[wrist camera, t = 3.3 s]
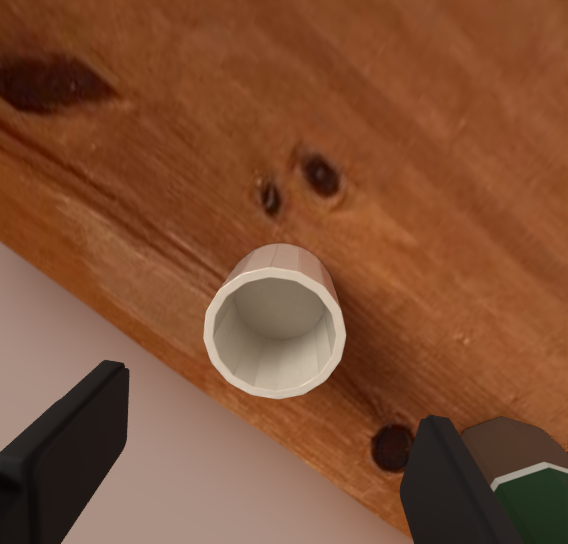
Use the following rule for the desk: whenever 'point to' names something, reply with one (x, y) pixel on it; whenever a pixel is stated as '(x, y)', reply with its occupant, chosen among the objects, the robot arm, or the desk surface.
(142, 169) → the desk surface
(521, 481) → the beer bottle
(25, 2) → the desk surface
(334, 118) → the desk surface
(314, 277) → the ramekin
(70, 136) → the desk surface
